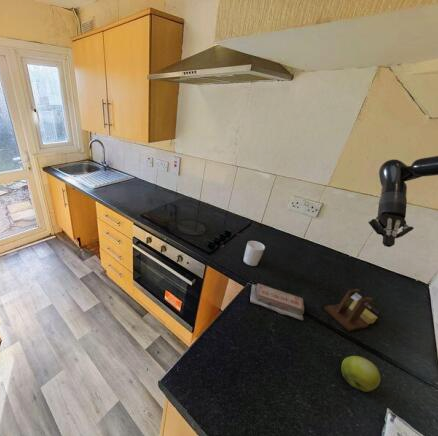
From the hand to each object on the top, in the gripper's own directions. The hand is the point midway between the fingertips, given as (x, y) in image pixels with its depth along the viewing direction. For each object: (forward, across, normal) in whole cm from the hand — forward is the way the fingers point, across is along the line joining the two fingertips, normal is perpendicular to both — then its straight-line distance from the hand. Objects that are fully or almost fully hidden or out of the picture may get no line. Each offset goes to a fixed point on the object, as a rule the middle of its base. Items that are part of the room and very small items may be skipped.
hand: (388, 246), depth 85 cm
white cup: (+18, -43, +17) cm, 49 cm away
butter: (+27, -3, +8) cm, 28 cm away
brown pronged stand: (+30, -8, +4) cm, 32 cm away
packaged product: (+34, -32, 0) cm, 47 cm away
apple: (+49, -12, -14) cm, 53 cm away
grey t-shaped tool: (+24, -5, +2) cm, 25 cm away
